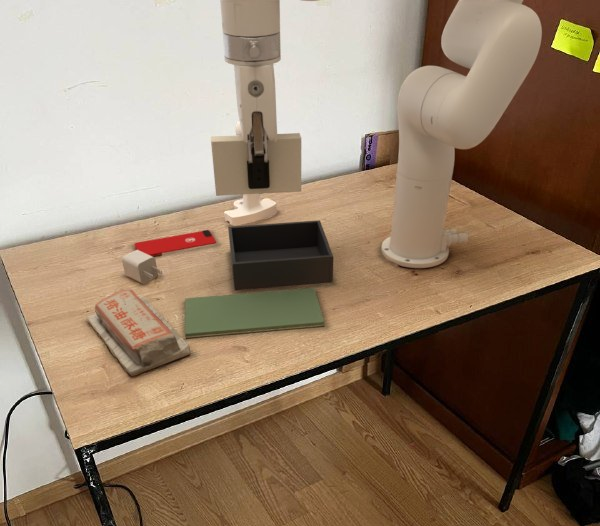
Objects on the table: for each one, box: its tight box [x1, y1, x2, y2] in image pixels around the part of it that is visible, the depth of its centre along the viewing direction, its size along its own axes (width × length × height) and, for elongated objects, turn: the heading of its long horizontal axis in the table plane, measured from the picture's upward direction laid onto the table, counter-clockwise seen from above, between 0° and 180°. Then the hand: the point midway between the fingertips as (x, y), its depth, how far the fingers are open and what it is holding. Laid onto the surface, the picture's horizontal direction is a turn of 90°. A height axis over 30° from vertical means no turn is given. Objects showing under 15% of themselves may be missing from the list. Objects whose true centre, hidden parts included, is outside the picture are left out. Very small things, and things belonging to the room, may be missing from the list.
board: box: [210, 132, 302, 197], centre depth 92 cm, size 13×2×8 cm, turn 97°
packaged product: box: [86, 288, 191, 377], centre depth 95 cm, size 18×5×10 cm
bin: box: [227, 219, 334, 291], centre depth 111 cm, size 17×14×6 cm
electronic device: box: [134, 229, 217, 257], centre depth 119 cm, size 6×1×15 cm
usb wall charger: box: [121, 249, 163, 285], centre depth 109 cm, size 4×7×4 cm, turn 50°
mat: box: [184, 287, 325, 340], centre depth 101 cm, size 22×10×1 cm, turn 98°
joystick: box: [223, 120, 278, 226], centre depth 123 cm, size 11×8×20 cm
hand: (258, 183), depth 93 cm, fingers closed on board, 2 cm apart
